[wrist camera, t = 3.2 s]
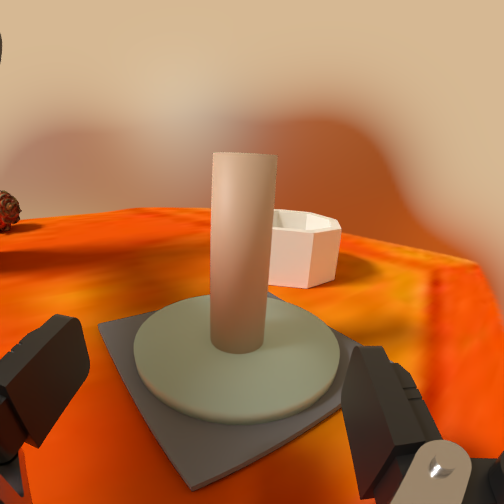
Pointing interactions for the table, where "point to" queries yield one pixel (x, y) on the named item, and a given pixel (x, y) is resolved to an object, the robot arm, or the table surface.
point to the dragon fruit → (8, 211)
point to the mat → (207, 433)
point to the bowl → (303, 249)
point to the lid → (237, 319)
